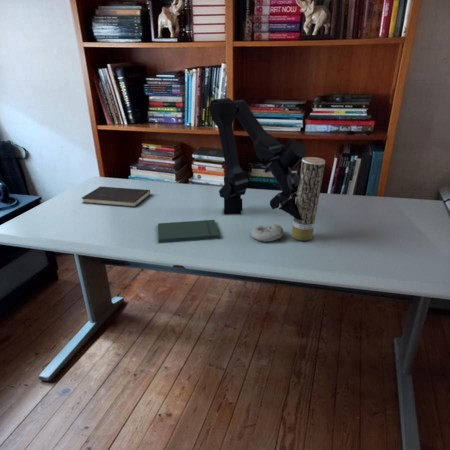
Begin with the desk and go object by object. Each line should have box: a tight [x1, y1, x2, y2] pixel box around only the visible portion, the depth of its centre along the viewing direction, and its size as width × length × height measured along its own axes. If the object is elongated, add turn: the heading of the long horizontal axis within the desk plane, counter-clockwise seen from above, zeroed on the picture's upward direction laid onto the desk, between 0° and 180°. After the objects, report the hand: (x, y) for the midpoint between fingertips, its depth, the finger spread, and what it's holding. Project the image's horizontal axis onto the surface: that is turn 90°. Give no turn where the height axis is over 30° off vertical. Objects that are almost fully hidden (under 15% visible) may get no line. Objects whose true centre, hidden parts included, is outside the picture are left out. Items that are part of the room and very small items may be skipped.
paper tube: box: [291, 156, 326, 242], centre depth 131 cm, size 7×7×25 cm
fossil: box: [250, 224, 284, 242], centre depth 138 cm, size 11×4×10 cm
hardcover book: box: [81, 186, 151, 208], centre depth 173 cm, size 16×23×2 cm
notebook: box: [157, 219, 221, 243], centre depth 143 cm, size 20×14×1 cm
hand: (307, 217), depth 133 cm, fingers closed on paper tube, 6 cm apart
